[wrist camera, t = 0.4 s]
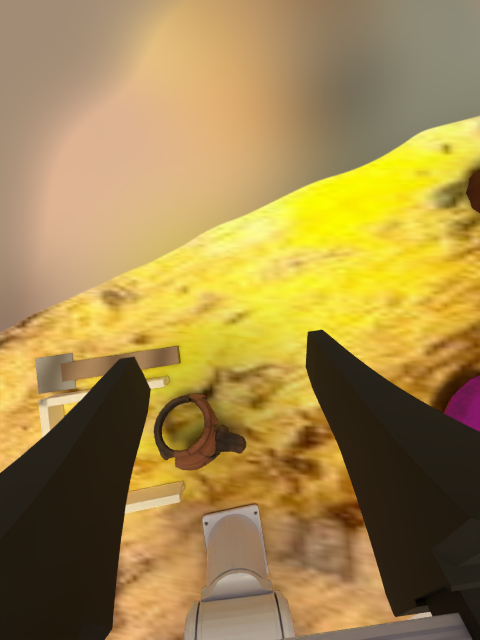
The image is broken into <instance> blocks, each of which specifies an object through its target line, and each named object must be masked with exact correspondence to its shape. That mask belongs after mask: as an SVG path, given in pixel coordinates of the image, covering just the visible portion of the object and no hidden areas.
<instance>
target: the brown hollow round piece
mask: <svg viewBox="0 0 480 640" xmlns="http://www.w3.org/2000/svg"><path fill="white" fill-rule="evenodd" d="M205 399H207V397H206V396H205V395H201V394H187V395H184V396H181V397H178V398H176V399H173V400H172V401H170V402H169V403H168V404H167V405H166V406H165V407H164V408H163V409H162V410H161V412H160V413H159V415H158V417H157V419H156V422H155V426H154V437H155V441H156V444H157V447H158V449H159V451H160V455H161V456H162V457H163V459H164V460H168V459H169V458H172V457H175V458H176V459H175V464H176V467H178V468H180V469H182V470H197V469H199V468H202V467H203V466H205V465H207V464H208V463H210V462H211V461H212V460H214V459H215V458H216V457H217V456H218V455H219V454H220V453H221V452H230V451H232V452H237V453H239V454H240V453H242V452H243V450H244V449H245V448H246V441H245V439H244V437H242V436H240V435H237V434H234V433H231V432H229V431H228V429H227V427H226V426H225V425H221V426H220V427H219V428H218V429H217V431H216V432H215V430H214V426H215V425H217V424H218V422H217V419H216V416H215V413H214V411H213V409H212V408H211V406H210V405H209V403H208V402H207V401H206V400H205ZM190 401H191V402H195V403H196V405H197V406H198V407H199V408H200V409H201V410H202V412H203V415H204V420H205V424H204V426H205V427H204V430H203V433H202V435H201V437H200V438H199V440H198V441H197V442H196V443H195V444H194V445H193V446H191V447H190V448H188V449H185V450H180V451H179V450H172V449H170V448H169V447H168V446H167V445H166V444H165V442H164V440H163V437H162V426H163V422H164V420H165V418H166V416H167V415H168V413H169V412H170V411H171V410H172V409H173V408H174V407H176V406H177V405H180V404H183V403H188V402H190Z"/></svg>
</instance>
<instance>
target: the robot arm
mask: <svg viewBox="0 0 480 640" xmlns="http://www.w3.org/2000/svg"><path fill="white" fill-rule="evenodd" d="M306 369H307V373H308V376H309V379H310V382H311V385H312V388H313V391H314V393H315V395H316V397H317V399H318V402H319V404H320V406H321V408H322V410H323V413H324V415H325V417H326V419H327V421H328V423H329V426H330V428H331V430H332V432H333V434H334V436H335V439H336V441H337V443H338V446H339V448H340V451H341V454H342V456H343V459H344V462H345V465H346V468H347V471H348V474H349V476H350V479H351V482H352V485H353V488H354V491H355V494H356V497H357V500H358V503H359V506H360V510H361V513H362V516H363V519H364V522H365V525H366V529H367V532H368V535H369V538H370V541H371V545H372V548H373V552H374V555H375V558H376V562H377V565H378V568H379V572H380V575H381V579H382V582H383V586H384V589H385V593H386V596H387V598H388V601H389V604H390V606H391V609H392V611H393V614H394V616H395V617H398V616H405V615H411V614H418V613H424V612H431V614H432V617H426V618H419V619H412V620H405V621H398V622H392V623H385V624H378V625H371V626H365V627H358V628H351V629H344V630H338V631H331V632H324V633H317V634H311V635H304V636H297V637H295V633H294V627H293V622H292V617H291V613H290V609H289V605H288V602H287V599H286V598H285V597H284V595H283V594H282V593H281V591H280V590H277V591H275V592H274V594H273V589H272V584H271V580H268V578H267V574H268V566H267V560H266V553H265V547H264V541H263V534H262V528H261V522H260V515H259V509H258V506H257V505H256V504H253V505H249V506H244V507H239V508H234V509H230V510H225V511H220V512H216V513H211V514H206V515H204V516H203V518H202V522H203V529H204V536H205V543H206V550H207V569H206V582H205V587H204V588H202V595H201V603H200V601H199V600H198V601H194V602H193V604H192V606H191V608H190V609H189V611H188V613H187V617H186V624H185V632H184V640H480V431H477V430H475V429H473V428H471V427H469V426H467V425H465V424H463V423H461V422H459V421H457V420H455V419H453V418H452V417H450V416H448V415H446V414H444V413H442V412H440V411H438V410H436V409H435V408H433V407H431V406H429V405H427V404H426V403H424V402H422V401H420V400H419V399H417V398H415V397H414V396H412V395H410V394H409V393H407V392H405V391H404V390H402V389H400V388H399V387H397V386H396V385H394V384H393V383H391V382H390V381H388V380H387V379H385V378H384V377H382V376H381V375H379V374H378V373H377V372H375V371H374V370H372V369H371V368H370V367H368V366H367V365H366V364H364V363H363V362H362V361H360V360H359V359H358V358H356V357H355V356H354V355H353V354H351V353H350V352H349V351H348V350H346V349H345V348H344V347H343V346H341V345H340V344H339V343H338V342H337V341H335V340H334V339H333V338H332V337H331V336H329V335H328V334H327V333H326V332H325V331H323V330H317V331H310V332H308V336H307V353H306ZM150 390H151V389H150V387H149V385H148V383H147V381H146V379H145V377H144V374H143V372H142V370H141V368H140V366H139V364H138V362H137V360H136V358H135V356H134V357H127V358H120V359H119V360H118V361H117V362H116V363H115V364H114V365H113V366H112V367H111V368H110V369H109V370H108V371H107V373H106V374H105V375H104V376H103V377H102V378H101V379H100V380H99V381H98V382H97V383H96V385H95V386H94V387H93V388H92V389H91V390H90V391H89V392H88V393H87V394H86V395H85V396H84V397H83V398H82V399H81V401H80V402H79V403H78V404H77V405H76V406H75V407H74V408H73V409H72V410H71V411H70V412H69V413H68V414H67V415H66V416H65V417H64V418H63V419H62V420H61V421H59V422H58V423H57V424H56V425H55V426H54V427H53V428H52V429H51V430H50V431H49V432H48V433H47V434H46V435H45V436H44V437H43V438H41V439H40V440H39V441H38V442H37V443H36V444H35V445H34V446H32V447H31V448H30V449H29V450H28V451H27V452H26V453H24V454H23V455H22V456H21V457H20V458H18V459H17V460H16V461H15V462H14V463H12V464H11V465H10V466H8V467H7V468H6V469H5V470H3V471H2V472H1V473H0V640H105V638H106V637H107V636H108V634H109V633H110V631H111V629H112V625H113V612H114V600H115V589H116V578H117V569H118V560H119V552H120V543H121V536H122V529H123V522H124V515H125V508H126V502H127V496H128V490H129V484H130V479H131V474H132V470H133V466H134V462H135V458H136V455H137V451H138V447H139V444H140V440H141V436H142V432H143V429H144V425H145V421H146V417H147V413H148V406H149V399H150ZM255 511H257V513H254V512H255ZM205 522H208V523H207V524H206V523H205Z"/></svg>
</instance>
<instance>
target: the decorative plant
mask: <svg viewBox="0 0 480 640" xmlns="http://www.w3.org/2000/svg"><path fill="white" fill-rule="evenodd" d="M444 414H446V415H448V416H450V417H452V418H453V419H455V420H457V421H459V422H461V423H463V424H465V425H467V426H469V427H471V428H473V429H475V430H477V431H480V375H479V376H477V377H474V378H472V379H470V380H469V381H468V382H467V383H466V384H464V385H463V386H462V387H461V388H460V389H459V390H458V391H457V392H456V393H455V394H454V395H453V396H452V397H451V398H450V400H449V403H448V405H447V407H446V409H445V411H444Z"/></svg>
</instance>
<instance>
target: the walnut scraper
mask: <svg viewBox="0 0 480 640" xmlns="http://www.w3.org/2000/svg"><path fill="white" fill-rule="evenodd" d="M134 356H135V358H136V360H137V362H138V364H139V366H140V368H141V369H147V368H154V367H160V366H167V365H173V364H179V363H180V355H179V348H178V346H174V347H167V348H161V349H154V350H148V351H141V352H134V353H128V354H121V355H115V356H108V357H101V358H95V359H88V360H81V361H75V362H73V354H72V353H69V354H63V355H56V356H49V357H42V358H36V359H35V361H36V371H37V381H38V391H39V394H42V393H48V392H54V391H61V390H67V389H73V388H76V382H75V380H77V379H84V378H90V377H96V376H103V375H105V374H106V373H107V371H108V370H109V369H110V368H111V367H112V366H113V365H114V364H115V363H116V362H117V361H118V360H119V359H120V358H127V357H134Z"/></svg>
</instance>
